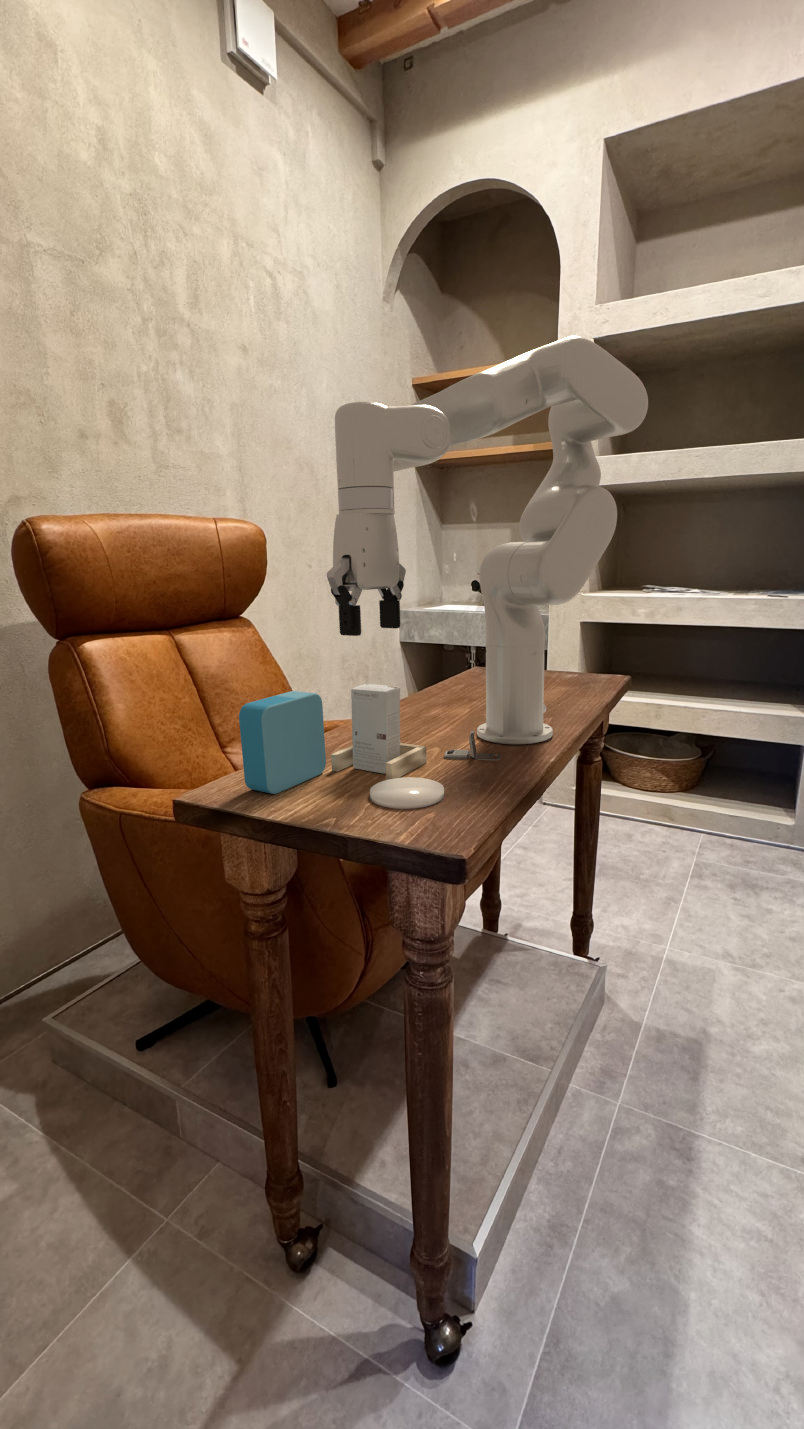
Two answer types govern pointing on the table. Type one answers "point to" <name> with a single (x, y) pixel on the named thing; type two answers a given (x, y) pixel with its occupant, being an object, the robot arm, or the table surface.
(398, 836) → the table surface
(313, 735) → the data package
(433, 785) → the ceramic coaster
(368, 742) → the skincare box
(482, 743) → the table surface
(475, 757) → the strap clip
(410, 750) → the stand
